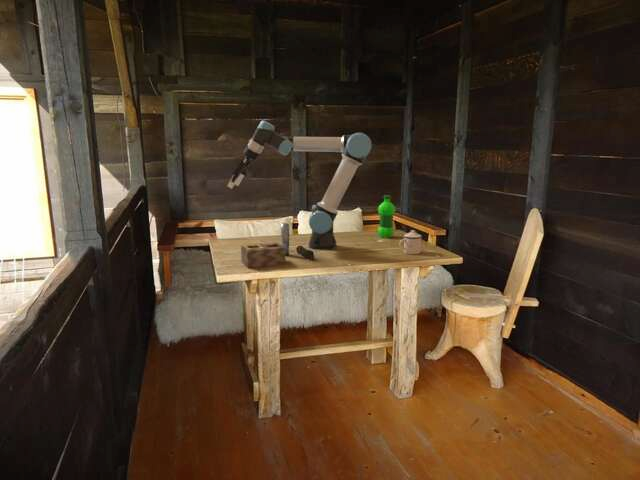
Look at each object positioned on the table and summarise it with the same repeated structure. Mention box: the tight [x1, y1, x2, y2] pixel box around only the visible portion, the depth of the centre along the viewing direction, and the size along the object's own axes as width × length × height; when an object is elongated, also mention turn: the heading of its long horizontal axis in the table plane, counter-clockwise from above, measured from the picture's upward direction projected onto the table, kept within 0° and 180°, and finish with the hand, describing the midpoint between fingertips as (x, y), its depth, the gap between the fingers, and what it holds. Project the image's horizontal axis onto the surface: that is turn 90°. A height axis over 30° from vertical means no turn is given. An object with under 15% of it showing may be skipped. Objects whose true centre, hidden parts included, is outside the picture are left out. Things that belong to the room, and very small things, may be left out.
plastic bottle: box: [377, 194, 396, 238], centre depth 286 cm, size 10×10×25 cm
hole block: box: [240, 242, 286, 269], centre depth 225 cm, size 18×12×8 cm, turn 112°
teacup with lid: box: [399, 229, 423, 255], centre depth 248 cm, size 12×9×12 cm
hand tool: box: [295, 245, 315, 261], centre depth 239 cm, size 19×4×5 cm, turn 20°
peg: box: [280, 222, 290, 257], centre depth 241 cm, size 4×4×16 cm
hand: (232, 186), depth 245 cm, fingers open, 13 cm apart
